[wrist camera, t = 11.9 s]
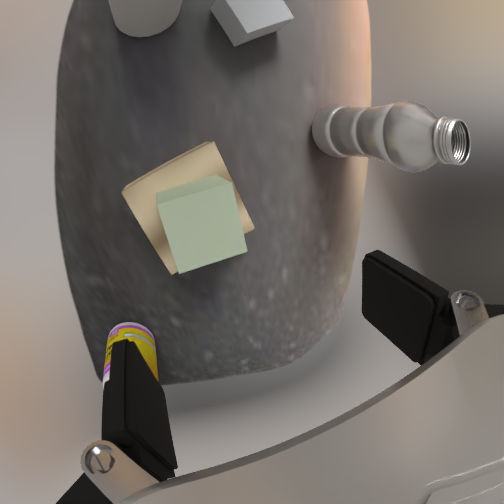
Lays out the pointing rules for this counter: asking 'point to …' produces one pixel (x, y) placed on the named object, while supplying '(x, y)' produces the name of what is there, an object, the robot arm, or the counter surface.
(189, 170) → the beech block
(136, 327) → the supplement bottle
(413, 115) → the plastic bottle
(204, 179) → the sage-green block
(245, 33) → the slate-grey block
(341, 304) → the counter surface
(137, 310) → the counter surface
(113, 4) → the can
